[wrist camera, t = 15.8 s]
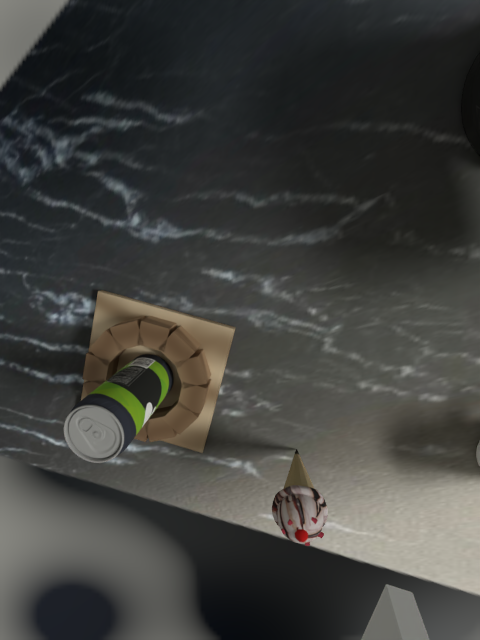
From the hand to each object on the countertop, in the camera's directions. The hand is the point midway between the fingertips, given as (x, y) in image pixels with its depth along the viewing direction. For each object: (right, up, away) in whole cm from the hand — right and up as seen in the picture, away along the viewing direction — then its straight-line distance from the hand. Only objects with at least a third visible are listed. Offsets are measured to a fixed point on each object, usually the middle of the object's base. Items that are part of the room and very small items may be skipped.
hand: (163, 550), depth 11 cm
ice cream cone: (+10, -10, +37) cm, 40 cm away
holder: (-9, 0, +37) cm, 38 cm away
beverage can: (-9, 0, +36) cm, 37 cm away
